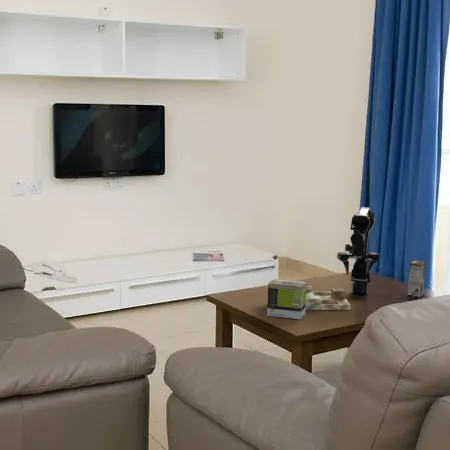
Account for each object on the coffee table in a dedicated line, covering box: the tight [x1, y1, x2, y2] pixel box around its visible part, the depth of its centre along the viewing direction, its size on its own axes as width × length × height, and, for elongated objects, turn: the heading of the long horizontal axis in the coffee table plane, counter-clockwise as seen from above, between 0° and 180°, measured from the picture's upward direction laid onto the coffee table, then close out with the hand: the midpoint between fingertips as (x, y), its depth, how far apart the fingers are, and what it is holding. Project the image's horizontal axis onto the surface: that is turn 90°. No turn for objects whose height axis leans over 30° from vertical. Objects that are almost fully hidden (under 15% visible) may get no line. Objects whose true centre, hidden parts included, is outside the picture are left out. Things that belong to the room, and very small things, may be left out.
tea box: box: [266, 278, 307, 320], centre depth 318 cm, size 15×10×15 cm, turn 71°
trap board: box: [305, 285, 352, 311], centre depth 339 cm, size 21×22×5 cm
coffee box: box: [407, 259, 427, 298], centre depth 358 cm, size 9×6×16 cm
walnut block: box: [330, 287, 346, 300], centre depth 339 cm, size 6×6×4 cm
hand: (357, 274), depth 340 cm, fingers open, 9 cm apart
